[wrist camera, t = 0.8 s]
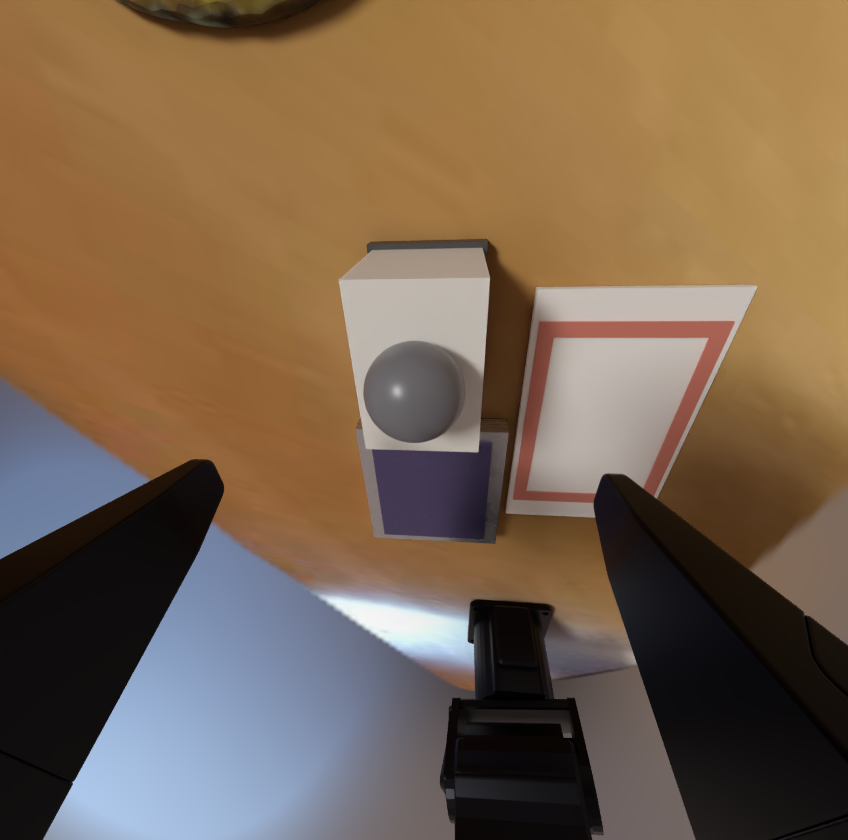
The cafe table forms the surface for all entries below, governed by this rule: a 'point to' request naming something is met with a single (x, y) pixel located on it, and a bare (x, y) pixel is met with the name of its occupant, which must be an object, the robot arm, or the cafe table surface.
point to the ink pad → (437, 489)
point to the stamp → (419, 342)
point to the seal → (221, 10)
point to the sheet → (614, 387)
